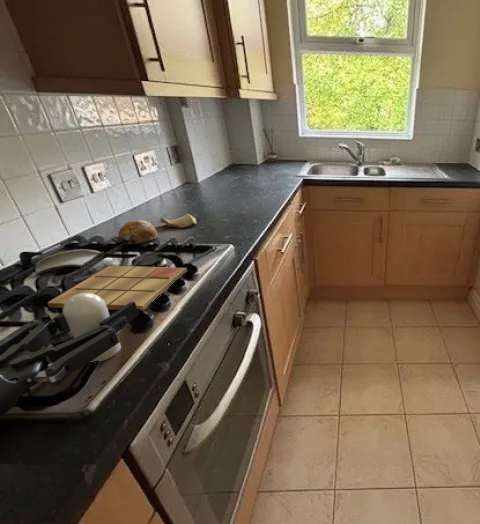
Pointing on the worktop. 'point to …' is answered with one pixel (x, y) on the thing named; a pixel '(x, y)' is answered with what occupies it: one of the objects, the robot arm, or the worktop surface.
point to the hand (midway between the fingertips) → (114, 306)
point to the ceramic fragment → (66, 260)
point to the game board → (124, 285)
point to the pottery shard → (180, 221)
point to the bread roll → (137, 232)
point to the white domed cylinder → (87, 317)
